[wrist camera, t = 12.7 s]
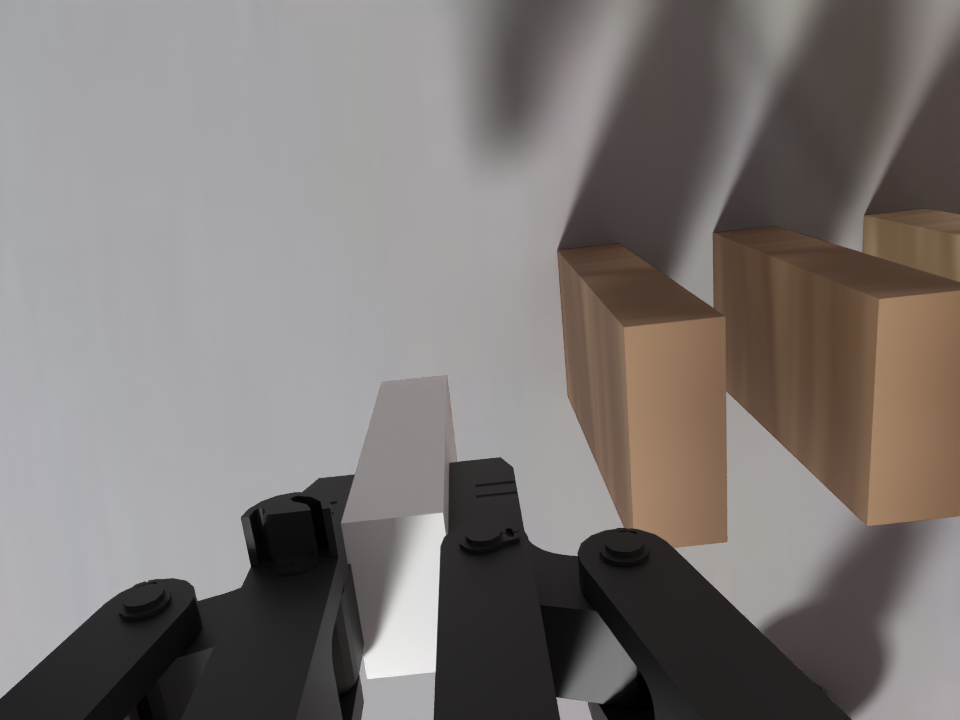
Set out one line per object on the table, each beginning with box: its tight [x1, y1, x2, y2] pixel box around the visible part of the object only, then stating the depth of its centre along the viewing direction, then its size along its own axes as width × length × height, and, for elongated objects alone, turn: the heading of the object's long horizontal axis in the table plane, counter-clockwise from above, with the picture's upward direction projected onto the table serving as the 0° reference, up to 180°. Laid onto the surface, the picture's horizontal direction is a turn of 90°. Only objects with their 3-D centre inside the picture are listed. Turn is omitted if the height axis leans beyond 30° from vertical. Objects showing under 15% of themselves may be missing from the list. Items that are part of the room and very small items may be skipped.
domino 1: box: [557, 244, 727, 548], centre depth 20 cm, size 2×5×10 cm, turn 6°
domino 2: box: [713, 226, 960, 526], centre depth 20 cm, size 2×5×10 cm, turn 6°
